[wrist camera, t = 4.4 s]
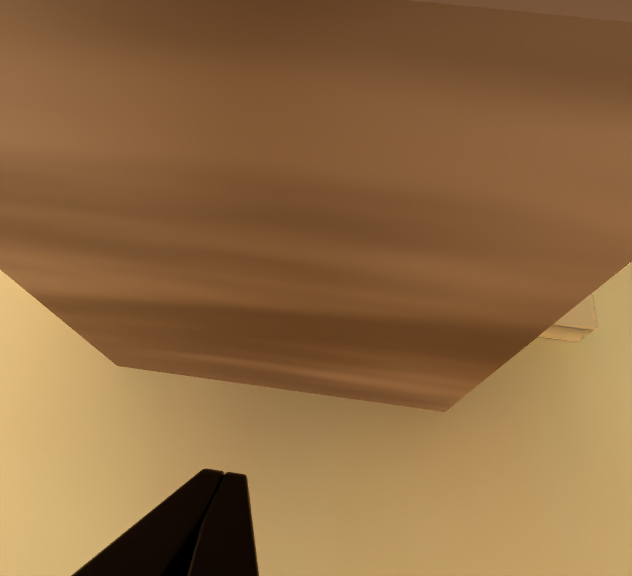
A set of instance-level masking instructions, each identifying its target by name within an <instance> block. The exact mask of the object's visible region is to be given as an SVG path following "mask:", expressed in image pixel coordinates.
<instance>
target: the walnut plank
mask: <svg viewBox="0 0 632 576" xmlns="http://www.w3.org/2000/svg"><path fill="white" fill-rule="evenodd" d="M631 261H632V0H0V270H2V271H3V272H4V273H5V274H6V275H8V276H9V277H10V278H11V279H13V280H14V281H15V282H16V283H17V284H19V285H20V286H21V287H22V288H24V289H25V290H26V291H27V292H28V293H30V294H31V295H32V296H33V297H34V298H36V299H37V300H38V301H39V302H41V303H42V304H43V305H44V306H45V307H47V308H48V309H49V310H50V311H51V312H53V313H54V314H55V315H56V316H58V317H59V318H60V319H61V320H62V321H64V322H65V323H66V324H67V325H68V326H70V327H71V328H72V329H73V330H75V331H76V332H77V333H78V334H79V335H81V336H82V337H83V338H84V339H85V340H87V341H88V342H89V343H90V344H92V345H93V346H94V347H95V348H96V349H98V350H99V351H100V352H101V353H102V354H104V355H105V356H106V357H107V358H109V359H110V360H111V361H112V362H113V363H115V364H116V365H117V366H123V367H130V368H137V369H144V370H151V371H158V372H166V373H173V374H180V375H187V376H194V377H201V378H208V379H215V380H222V381H230V382H237V383H244V384H251V385H258V386H265V387H272V388H279V389H286V390H293V391H301V392H308V393H315V394H322V395H329V396H336V397H343V398H350V399H357V400H365V401H372V402H379V403H386V404H393V405H400V406H407V407H414V408H421V409H429V410H436V411H443V412H445V411H446V410H447V409H449V408H450V407H451V406H452V405H453V404H455V403H456V402H457V401H458V400H460V399H461V398H462V397H463V396H465V395H466V394H467V393H468V392H470V391H471V390H472V389H473V388H475V387H476V386H477V385H478V384H480V383H481V382H482V381H483V380H485V379H486V378H487V377H488V376H489V375H491V374H492V373H493V372H494V371H496V370H497V369H498V368H499V367H501V366H502V365H503V364H504V363H506V362H507V361H508V360H509V359H511V358H512V357H513V356H514V355H516V354H517V353H518V352H519V351H521V350H522V349H523V348H524V347H525V346H527V345H528V344H529V343H530V342H532V341H533V340H534V339H535V338H537V337H538V336H539V335H540V334H542V333H543V332H544V331H545V330H547V329H548V328H549V327H550V326H552V325H553V324H554V323H555V322H556V321H558V320H559V319H560V318H561V317H563V316H564V315H565V314H566V313H568V312H569V311H570V310H571V309H573V308H574V307H575V306H576V305H578V304H579V303H580V302H581V301H583V300H584V299H585V298H586V297H588V296H589V295H590V294H591V293H592V292H594V291H595V290H596V289H597V288H599V287H600V286H601V285H602V284H604V283H605V282H606V281H607V280H609V279H610V278H611V277H612V276H614V275H615V274H616V273H617V272H619V271H620V270H621V269H622V268H624V267H625V266H626V265H627V264H628V263H630V262H631Z"/></svg>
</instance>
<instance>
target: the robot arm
mask: <svg viewBox="0 0 632 576" xmlns="http://www.w3.org/2000/svg"><path fill="white" fill-rule="evenodd" d="M71 576H259V571H258V563H257V554H256V546H255V538H254V530H253V522H252V514H251V506H250V498H249V489H248V481H247V477H246V475H244V474H239V473H232V472H227V473H226V474H224V472H223V471H219V470H212V469H203V470H201V471H200V472H199V473H197V474H196V475H195V476H194V477H193V478H191V479H190V480H189V481H188V482H186V483H185V484H184V485H183V486H181V487H180V488H179V489H178V490H176V491H175V492H174V493H173V494H172V495H170V496H169V497H168V498H167V499H165V500H164V501H163V502H162V503H160V504H159V505H158V506H157V507H155V508H154V509H153V510H152V511H151V512H149V513H148V514H147V515H146V516H144V517H143V518H142V519H141V520H139V521H138V522H137V523H136V524H134V525H133V526H132V527H131V528H130V529H128V530H127V531H126V532H125V533H123V534H122V535H121V536H120V537H118V538H117V539H116V540H115V541H113V542H112V543H111V544H110V545H109V546H107V547H106V548H105V549H104V550H102V551H101V552H100V553H99V554H97V555H96V556H95V557H94V558H92V559H91V560H90V561H89V562H88V563H86V564H85V565H84V566H83V567H81V568H80V569H79V570H78V571H76V572H75V573H74V574H73V575H71Z"/></svg>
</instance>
